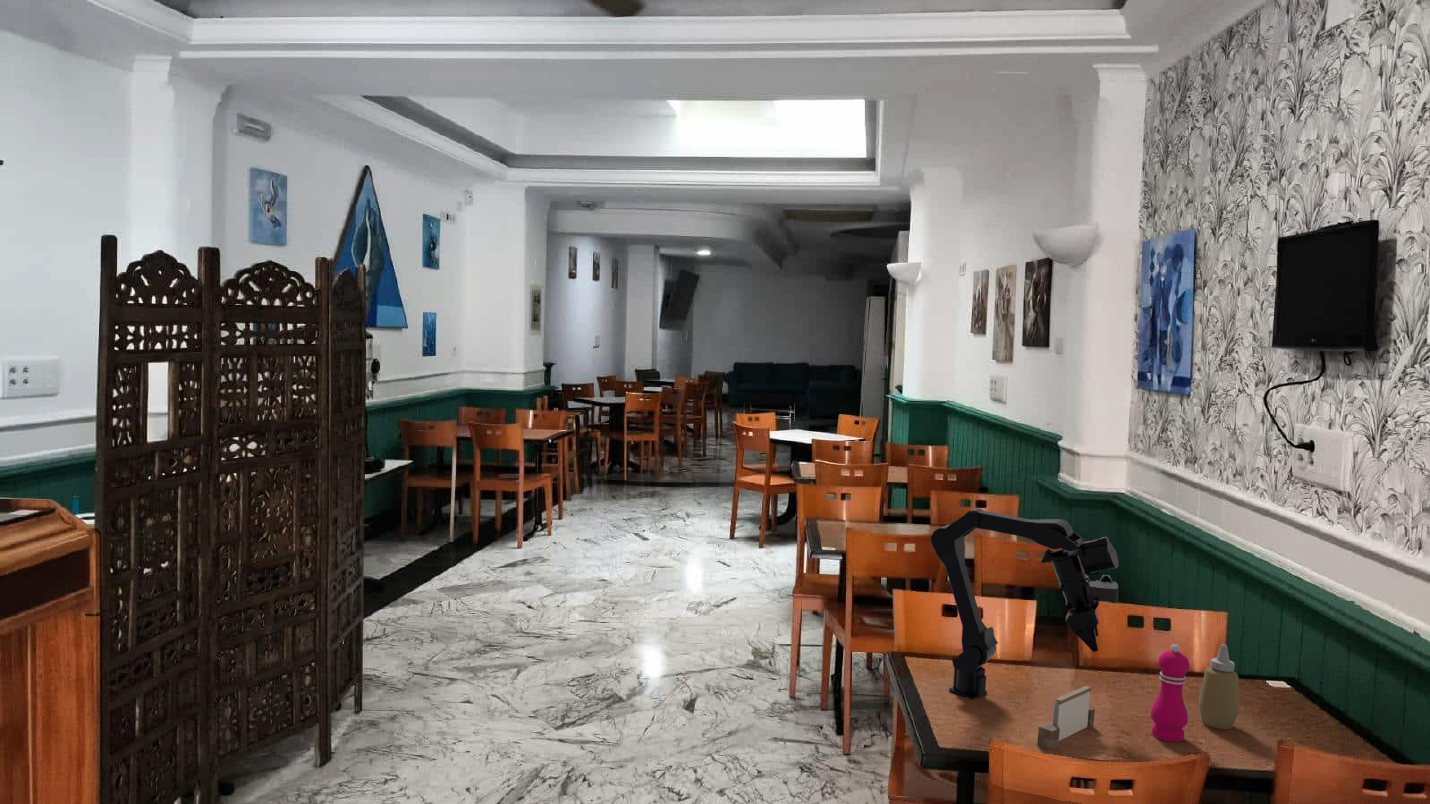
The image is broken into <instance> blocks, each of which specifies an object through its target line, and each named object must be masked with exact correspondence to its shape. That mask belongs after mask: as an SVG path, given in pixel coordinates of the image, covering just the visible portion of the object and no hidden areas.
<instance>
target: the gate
mask: <svg viewBox="0 0 1430 804" xmlns="http://www.w3.org/2000/svg"><path fill="white" fill-rule="evenodd" d="M1091 692H1092V687H1091V686H1088V685H1084V686H1081V687H1080V688H1077V689H1075V690H1073V691H1070V692H1068V693H1066V694H1063V695H1061V696H1059V697H1057V698H1054V704H1053V717H1052V725H1053V726H1056V727H1059V728H1060V730H1059V742H1060V741H1061V740H1064V739H1066V738H1067V737H1069V736H1071V735H1074V734H1075V733H1078V732H1079V731H1082V730H1083V729H1086V728H1087V723H1088V711H1089V707H1090V698H1091V697H1090V696H1091Z"/></svg>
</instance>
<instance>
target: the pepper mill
mask: <svg viewBox="0 0 1430 804" xmlns="http://www.w3.org/2000/svg"><path fill="white" fill-rule="evenodd" d="M1180 649H1181V648H1180V645H1178V644H1177V643H1176V644H1175V643H1173V644H1171V646H1170V650H1165V651H1163V652H1162V653H1161V654H1159V656H1158V660H1157V661H1158V663H1157V664H1158V667H1159V668H1160V670H1161V671H1160V672H1159V676H1158V677H1159V680H1160V681H1161V686H1160V690H1159V692H1158V695H1157V697H1156V699H1155V700H1154V702H1153V704H1152V706H1151V708H1150V709H1151V710H1150V717H1151V720H1152V721H1153V722H1154V723H1153V724H1152V725H1151V735H1152V736H1153V737H1155V738H1156V739H1159V740H1161V741H1165V742H1170V743H1181V742H1183V741H1184V739H1185V738H1184V737H1185V730H1184V729H1183V728H1185V726H1187V724H1188V722H1189V715H1188V710H1187V707H1186V705H1185V702H1184V697H1183V688H1184V687H1183V686H1184V685H1185V684H1186V678H1187V677H1186V674H1187V673H1188V672H1189V670H1190V660H1189V658H1188V657H1187V655H1185V654H1184V653H1182V652H1180Z"/></svg>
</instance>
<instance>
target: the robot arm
mask: <svg viewBox="0 0 1430 804" xmlns="http://www.w3.org/2000/svg"><path fill="white" fill-rule="evenodd" d="M976 529H982V530H985V531H992V532H997V533H1003V534H1008V535H1012V536H1017V537H1022V538H1025V539H1028V540H1030V541H1032V542H1034V543H1036V544H1038V545H1040V546H1042V547H1046V548H1047V549H1046V550H1045V552H1044V555H1043V557H1042V559H1041V560H1040V562H1041V564H1046V563H1050V562H1051V564H1052V566H1053V569H1054V572H1055V575H1056V578H1057V581H1058V584H1059V586H1058V588H1059V590H1060V592H1062V594H1063V596H1064V599H1065V606H1066V610H1068V612H1067V614H1066V616H1065V623H1066V625H1067V629H1068V630H1070V631H1071V632H1073V633H1074V634H1075V635H1076V636H1077V637H1078V638H1079V639H1080V640H1081V641H1082V642H1083V643H1084V644H1085V645H1086V646H1087V647H1088V648H1089V649H1090V650H1091V652H1093V653H1096V652H1098V651H1099V648H1098V647H1099V646H1098V642H1097V637H1099V631H1098V629H1099V628H1098V626H1099V623H1100V620H1099V619H1100V618H1099V616H1098V612H1097V608H1098V607H1099V605H1100V602H1109V603H1110V604H1118V602H1119V600H1118V599H1119V583H1117V582H1116V581H1113V579H1112V577H1111V575H1109V574H1102V576H1101V577H1100V579H1099V580H1098V579H1096V580H1095V581H1093V580H1090V577H1089V575H1087V574H1086V573H1085V571H1088V572H1089V573H1090V574H1093V573H1098V572H1102V571H1103V572H1104V571H1108V570H1112V569H1118V568H1119V557H1118V553H1117V551H1116V549H1115V548H1114V546H1113V544H1112V543H1111V542H1110V539H1109V537H1108V536H1102V537H1100V538H1097V539H1093V540H1089V541H1088V540H1086V539H1084V538H1083V537H1082V536H1080V535H1079V534H1078V533H1077V532H1075V531H1074V529H1073V527H1072V526H1071V524H1070V522H1069V521H1066V520H1064V519H1060V518H1059V519H1058V518H1057V519H1056V518H1055V519H1054V518H1053V519H1052V518H1050V519H1049V518H1046V519H1045V518H1043V519H1030V518H1024V517H1019V516H1014V515H1008V514H1002V513H999V512H998V513H997V512H992V511H987V510H983V509H982V508H974V509H971V510H968V511H967V512H965V513H964V514H963V515H962V516H961V517H960V518H959V519H956V520H954V522H952V523H951V524H947V525H944V526H942V527H939V528H936V529H935V530H934V531H933V532H932V534H931V536H930V543H931V546H932V548H933V550H934V552H935V554H936V556H937V558H938V559H939V561H940V562H941V563H942V564H943V566H944V567H945V571H946V574H947V578H948V581H949V584H950V588H951V591H952V595H953V598H954V602H955V605H956V609H957V613H958V616H959V619H960V622H961V628H962V629H961V649H962V652H961V653H959V654H958V655H957V656H955V657H954V658H953V659H952V660H951V661H952V665H953V669H954V670H953V681H952V683H953V685H952V687H949V688H948V690H949V692H952V693H955V694H958V695H960V696H963V697H965V698H968V699H971V700H974V699H976V698H979V697H981V696H984V695H986V694H988V690H986V687H987V686H986V684H987V676H986V668H984V667H983V666H984V665H986V663H987V661H989V660H990V659H992V658H993V657H994V655H995V653H996V652H997V645H999V642H998V640H997V639H996V637H995V632H994V627H993V626H990V627H987V626H986V625H985V624H984V622H983V620H982V618H981V614H980V611H979V608H978V605H977V601H976V597H975V594H974V590H973V587H972V583H971V578H970V576H969V573H968V569H967V565H966V561H965V557H966V543H965V538H966V537H967V536H969V535H970V534H971V533H973V531H974V530H976ZM1084 570H1085V571H1084Z"/></svg>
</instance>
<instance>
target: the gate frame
mask: <svg viewBox="0 0 1430 804" xmlns="http://www.w3.org/2000/svg"><path fill="white" fill-rule="evenodd" d="M1095 711H1096V708H1095V707H1092V706H1089V711H1088V723H1087V727H1086V728H1088V729H1092V728H1094V724H1095V723H1094V722H1095V721H1094V720H1095ZM1037 729H1038V730H1037V740H1036V741H1037V744H1036V745H1037V746H1038V747H1040V748H1043V749H1045V750H1048V751H1052V750H1054V749H1057V748H1058V747H1059V742H1060V741H1059V730H1060V728H1059V727H1056V726H1053V724H1050V723H1047V722H1046V723H1043V724H1040V725H1038V728H1037Z"/></svg>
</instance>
